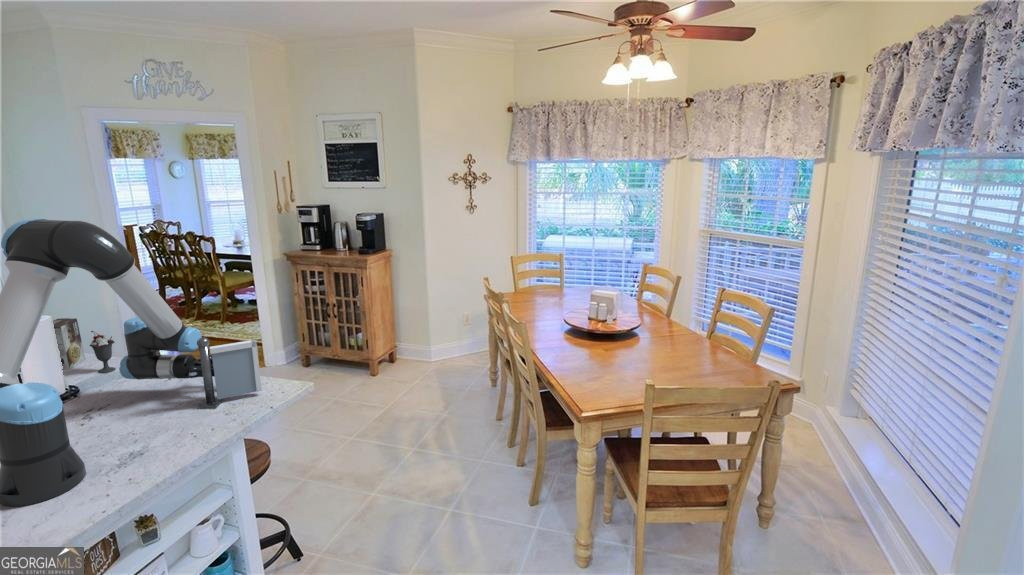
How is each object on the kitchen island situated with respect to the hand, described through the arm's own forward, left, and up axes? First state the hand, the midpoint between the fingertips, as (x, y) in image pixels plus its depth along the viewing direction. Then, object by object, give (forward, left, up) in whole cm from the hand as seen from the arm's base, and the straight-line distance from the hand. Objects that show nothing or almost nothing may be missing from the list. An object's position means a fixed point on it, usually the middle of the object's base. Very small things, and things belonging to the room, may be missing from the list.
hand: (255, 365), depth 163 cm
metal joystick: (-14, -1, -9) cm, 16 cm away
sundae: (-36, +49, -9) cm, 61 cm away
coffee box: (-46, +63, -9) cm, 78 cm away
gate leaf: (-6, -2, -7) cm, 10 cm away
